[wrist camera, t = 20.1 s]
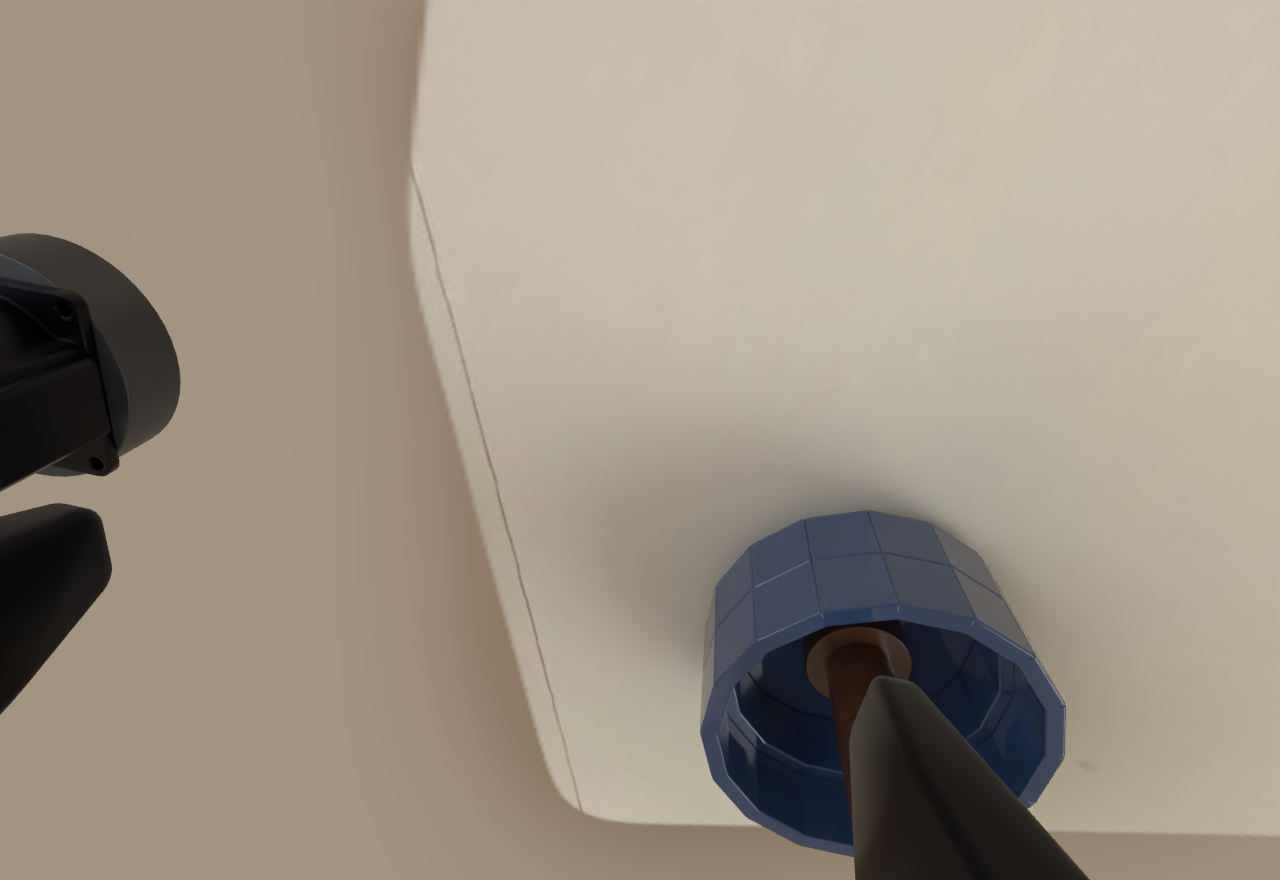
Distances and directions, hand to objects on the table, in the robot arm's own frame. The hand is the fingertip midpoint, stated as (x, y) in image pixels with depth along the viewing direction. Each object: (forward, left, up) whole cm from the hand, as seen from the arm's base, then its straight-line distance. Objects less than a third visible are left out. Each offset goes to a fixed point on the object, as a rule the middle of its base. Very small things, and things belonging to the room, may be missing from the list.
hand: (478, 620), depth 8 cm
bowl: (+9, -9, -13) cm, 18 cm away
